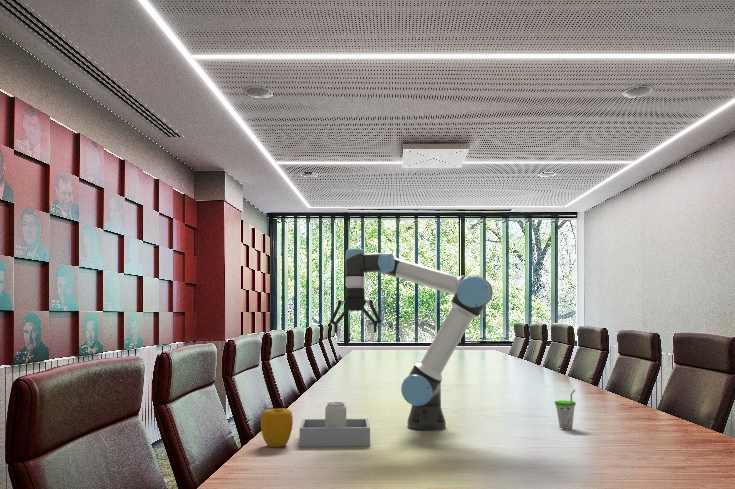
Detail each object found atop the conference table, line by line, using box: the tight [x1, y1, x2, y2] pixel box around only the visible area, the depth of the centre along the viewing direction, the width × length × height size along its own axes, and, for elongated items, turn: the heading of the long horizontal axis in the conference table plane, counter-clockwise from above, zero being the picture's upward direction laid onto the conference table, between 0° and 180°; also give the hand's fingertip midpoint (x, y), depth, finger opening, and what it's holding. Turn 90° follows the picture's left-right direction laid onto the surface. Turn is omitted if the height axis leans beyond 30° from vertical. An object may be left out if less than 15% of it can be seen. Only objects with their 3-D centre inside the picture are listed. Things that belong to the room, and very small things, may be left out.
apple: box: [260, 407, 294, 448], centre depth 210 cm, size 11×11×13 cm
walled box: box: [298, 418, 371, 447], centre depth 218 cm, size 24×18×6 cm
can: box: [324, 401, 347, 428], centre depth 219 cm, size 8×8×12 cm
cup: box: [554, 389, 576, 430], centre depth 241 cm, size 8×8×15 cm
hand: (355, 341), depth 243 cm, fingers open, 13 cm apart
